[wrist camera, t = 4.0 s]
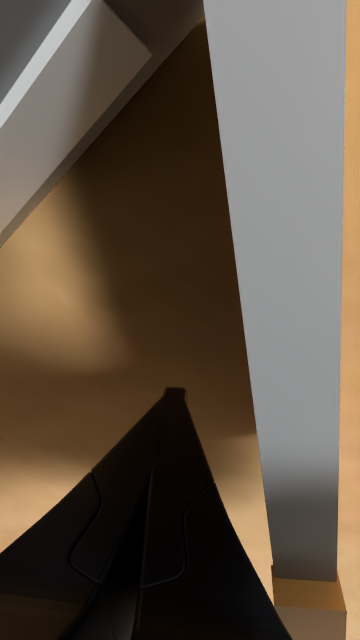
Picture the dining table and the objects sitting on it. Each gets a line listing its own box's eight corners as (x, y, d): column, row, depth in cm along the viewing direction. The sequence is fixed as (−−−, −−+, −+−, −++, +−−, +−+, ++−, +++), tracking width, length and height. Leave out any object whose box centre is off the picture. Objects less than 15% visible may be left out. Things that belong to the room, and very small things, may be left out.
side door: (279, -26, 6) (410, -588, 1) (301, 442, 10) (347, 658, 6) (208, -4, 6) (124, -413, 2) (261, 443, 10) (277, 650, 6)
